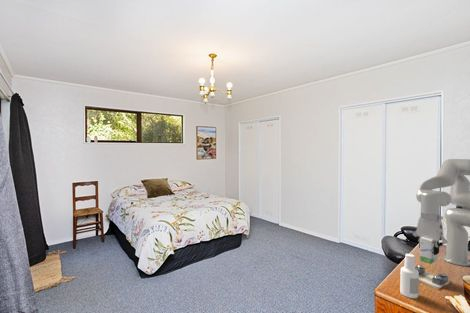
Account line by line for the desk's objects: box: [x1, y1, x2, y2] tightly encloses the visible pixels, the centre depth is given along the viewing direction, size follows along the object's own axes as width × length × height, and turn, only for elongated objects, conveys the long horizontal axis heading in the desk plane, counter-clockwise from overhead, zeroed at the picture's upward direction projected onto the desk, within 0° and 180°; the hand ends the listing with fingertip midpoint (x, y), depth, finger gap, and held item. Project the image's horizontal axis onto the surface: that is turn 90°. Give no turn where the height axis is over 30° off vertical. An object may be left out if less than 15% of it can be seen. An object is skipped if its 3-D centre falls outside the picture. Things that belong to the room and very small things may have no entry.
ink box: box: [419, 237, 438, 265], centre depth 127 cm, size 8×5×12 cm, turn 124°
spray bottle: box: [399, 253, 420, 299], centre depth 114 cm, size 7×7×18 cm
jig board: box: [419, 270, 452, 290], centre depth 127 cm, size 14×14×1 cm
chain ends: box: [415, 264, 449, 286], centre depth 127 cm, size 9×13×3 cm
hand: (428, 251), depth 127 cm, fingers closed on ink box, 5 cm apart
